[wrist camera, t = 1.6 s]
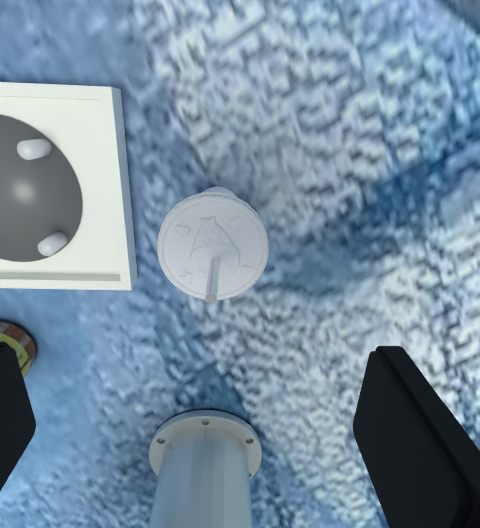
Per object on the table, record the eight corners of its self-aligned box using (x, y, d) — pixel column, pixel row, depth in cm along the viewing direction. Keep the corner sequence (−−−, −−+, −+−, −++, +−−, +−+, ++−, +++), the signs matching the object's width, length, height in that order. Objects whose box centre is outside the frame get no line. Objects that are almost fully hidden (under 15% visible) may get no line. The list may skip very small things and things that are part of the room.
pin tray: (137, 278, 30) (127, 298, 27) (-74, 274, 30) (-110, 294, 26) (120, 89, 24) (104, 85, 21) (-144, 77, 24) (-203, 71, 20)
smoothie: (186, 250, 29) (154, 354, 17) (171, 174, 27) (118, 228, 14) (260, 240, 29) (285, 337, 16) (252, 163, 27) (274, 207, 14)
